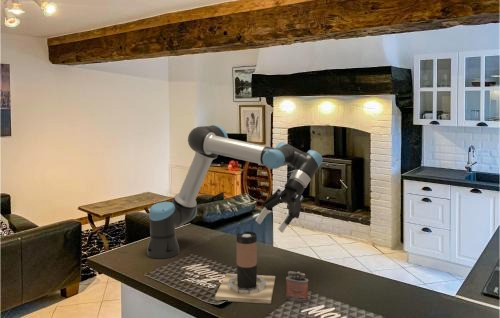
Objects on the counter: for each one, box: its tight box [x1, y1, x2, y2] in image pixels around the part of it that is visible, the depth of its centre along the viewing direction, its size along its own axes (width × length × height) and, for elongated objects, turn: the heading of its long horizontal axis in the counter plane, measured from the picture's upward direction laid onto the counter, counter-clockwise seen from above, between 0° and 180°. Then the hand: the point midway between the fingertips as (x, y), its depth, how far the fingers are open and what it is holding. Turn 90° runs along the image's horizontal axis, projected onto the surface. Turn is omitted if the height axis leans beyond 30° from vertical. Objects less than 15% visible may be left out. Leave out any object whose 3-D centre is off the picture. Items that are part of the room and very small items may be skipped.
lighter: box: [285, 270, 309, 303], centre depth 144 cm, size 8×3×10 cm, turn 71°
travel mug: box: [236, 230, 258, 289], centre depth 150 cm, size 8×8×20 cm
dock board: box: [214, 273, 276, 305], centre depth 152 cm, size 20×20×2 cm
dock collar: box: [228, 275, 266, 294], centre depth 152 cm, size 14×14×2 cm
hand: (268, 226), depth 155 cm, fingers open, 13 cm apart
